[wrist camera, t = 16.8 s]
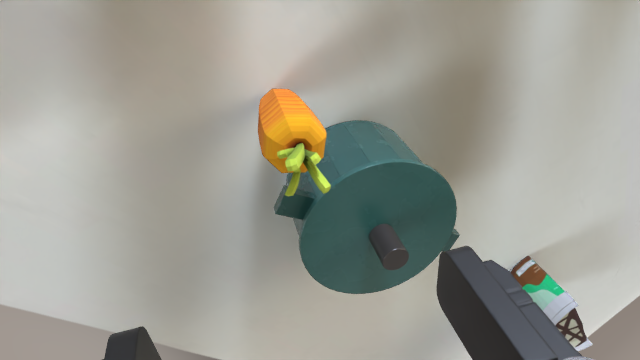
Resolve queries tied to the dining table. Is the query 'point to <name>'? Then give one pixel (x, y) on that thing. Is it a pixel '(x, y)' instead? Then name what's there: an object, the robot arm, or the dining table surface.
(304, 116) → the carrot
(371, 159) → the pot
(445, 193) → the pot lid
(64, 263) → the dining table surface
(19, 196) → the dining table surface
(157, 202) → the dining table surface
